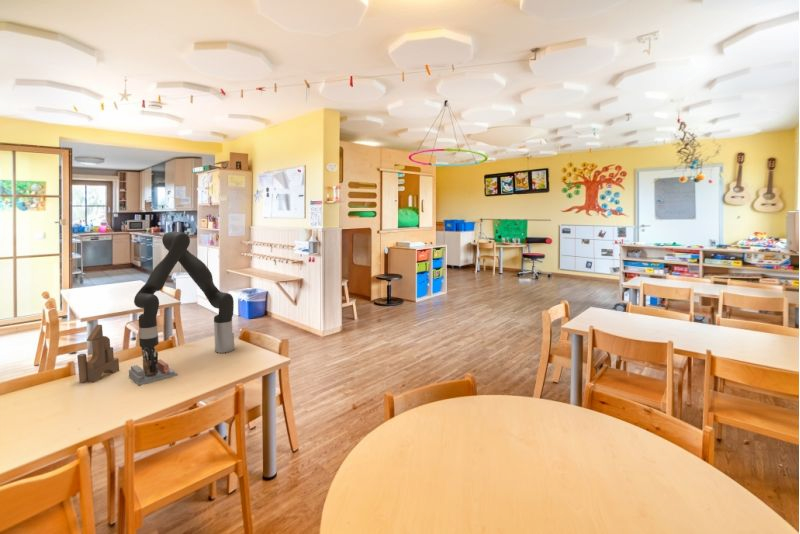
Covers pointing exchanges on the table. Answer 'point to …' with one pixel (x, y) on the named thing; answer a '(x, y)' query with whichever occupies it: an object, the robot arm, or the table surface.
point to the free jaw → (163, 367)
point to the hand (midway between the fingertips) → (150, 370)
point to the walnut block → (148, 367)
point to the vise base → (141, 378)
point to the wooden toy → (97, 358)
